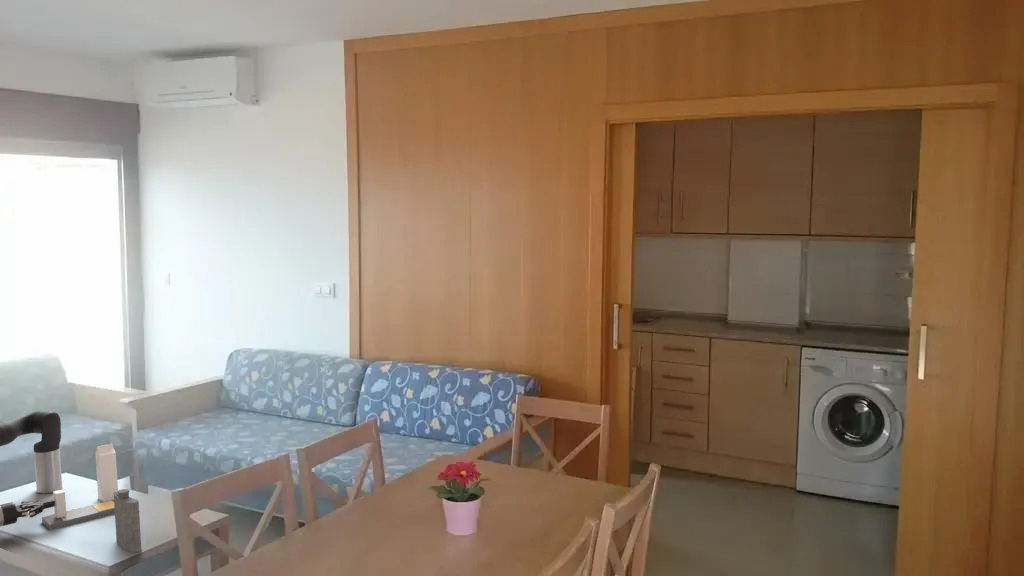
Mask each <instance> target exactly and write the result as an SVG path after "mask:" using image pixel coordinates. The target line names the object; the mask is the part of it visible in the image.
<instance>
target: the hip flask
mask: <svg viewBox="0 0 1024 576" xmlns="http://www.w3.org/2000/svg"><path fill="white" fill-rule="evenodd" d="M113 500H114V508H115V513H114V520H115V537H116V544H117V545H118V546H119V547H120V548H121V549H123V550H125V551H126V552H129V553H131V554H137V553H140V552H141V551H142V537H141V522H140V521H141V520H140V504H139V499H136V498H133V497H131V496H130V489H129V488H123V489H118V491H116V492H114V499H113Z"/></svg>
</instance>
